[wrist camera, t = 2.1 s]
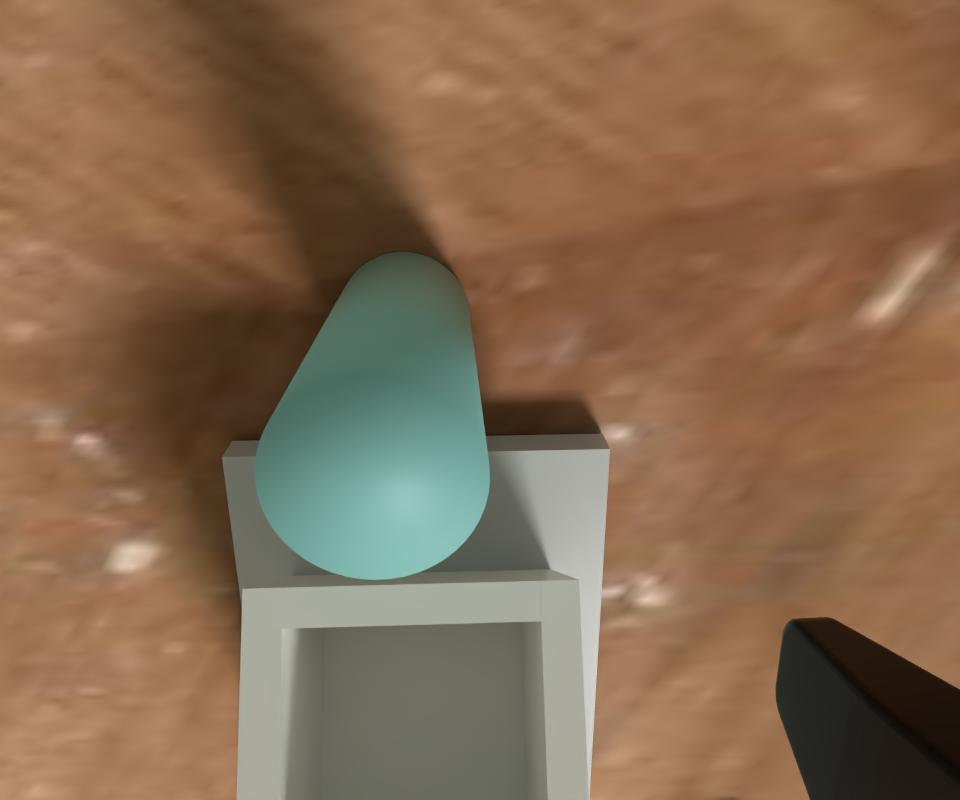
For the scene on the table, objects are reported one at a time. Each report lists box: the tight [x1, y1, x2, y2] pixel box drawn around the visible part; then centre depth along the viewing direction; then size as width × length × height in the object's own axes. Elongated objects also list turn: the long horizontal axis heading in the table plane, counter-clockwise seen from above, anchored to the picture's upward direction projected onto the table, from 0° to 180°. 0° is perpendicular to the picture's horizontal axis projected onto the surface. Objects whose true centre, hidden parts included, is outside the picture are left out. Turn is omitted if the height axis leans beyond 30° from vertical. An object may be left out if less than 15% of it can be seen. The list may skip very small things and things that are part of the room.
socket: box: [222, 434, 610, 800], centre depth 18 cm, size 12×10×8 cm
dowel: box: [255, 252, 490, 580], centre depth 15 cm, size 3×3×9 cm
